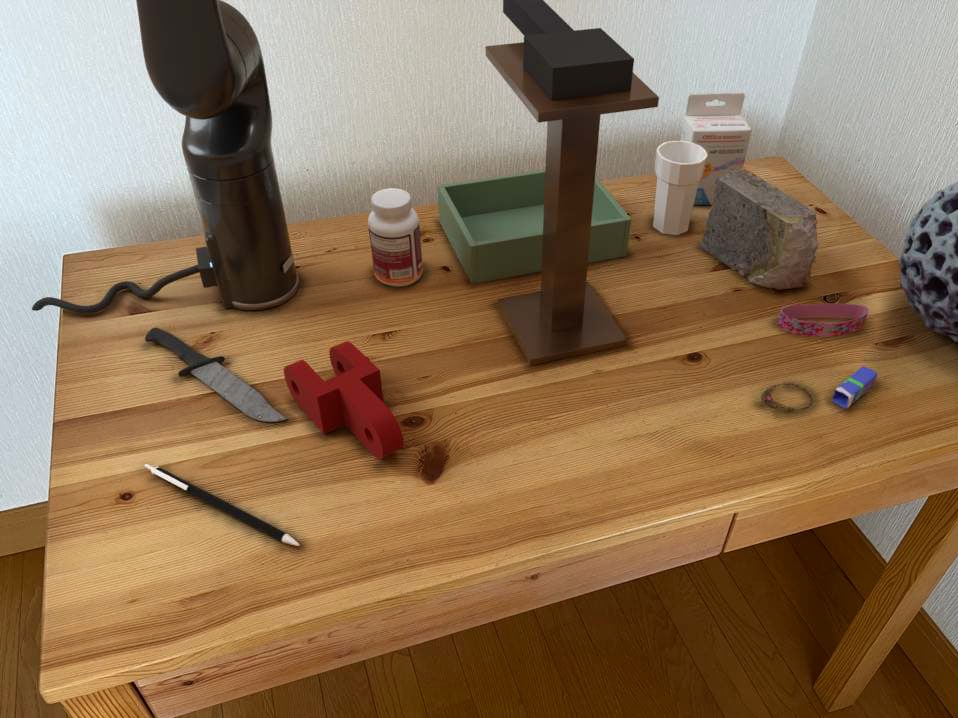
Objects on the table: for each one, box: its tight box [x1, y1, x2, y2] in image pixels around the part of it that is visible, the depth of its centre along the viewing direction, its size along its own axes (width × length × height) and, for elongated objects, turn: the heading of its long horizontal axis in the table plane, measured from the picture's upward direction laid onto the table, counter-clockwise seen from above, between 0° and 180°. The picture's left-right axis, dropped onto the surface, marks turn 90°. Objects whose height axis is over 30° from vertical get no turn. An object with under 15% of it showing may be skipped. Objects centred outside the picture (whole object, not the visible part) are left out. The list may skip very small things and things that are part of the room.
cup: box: [652, 140, 708, 236], centre depth 117 cm, size 7×7×11 cm
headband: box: [776, 303, 870, 338], centre depth 104 cm, size 11×4×2 cm, turn 94°
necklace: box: [760, 383, 813, 413], centre depth 94 cm, size 4×6×1 cm, turn 110°
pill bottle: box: [367, 187, 424, 287], centre depth 106 cm, size 6×6×11 cm
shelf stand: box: [485, 41, 660, 367], centre depth 94 cm, size 12×16×30 cm
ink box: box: [679, 92, 752, 206], centre depth 121 cm, size 8×5×15 cm, turn 98°
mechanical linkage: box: [283, 340, 405, 460], centre depth 88 cm, size 16×7×5 cm, turn 39°
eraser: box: [832, 365, 878, 410], centre depth 95 cm, size 2×6×2 cm
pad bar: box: [502, 0, 635, 100], centre depth 86 cm, size 8×22×3 cm, turn 20°
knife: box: [144, 327, 288, 423], centre depth 94 cm, size 22×1×5 cm
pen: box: [143, 463, 301, 547], centre depth 81 cm, size 1×19×1 cm
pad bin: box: [437, 168, 632, 285], centre depth 115 cm, size 22×16×6 cm
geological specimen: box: [699, 168, 819, 291], centre depth 110 cm, size 11×6×15 cm
